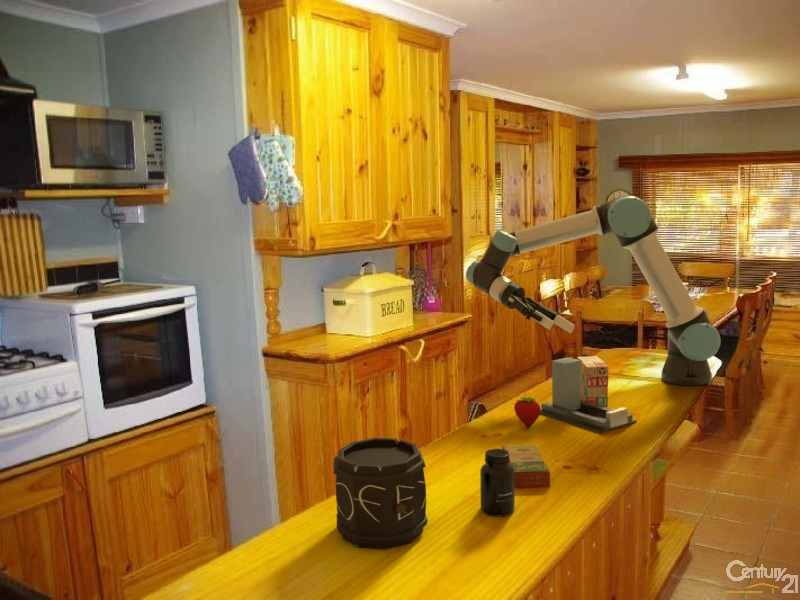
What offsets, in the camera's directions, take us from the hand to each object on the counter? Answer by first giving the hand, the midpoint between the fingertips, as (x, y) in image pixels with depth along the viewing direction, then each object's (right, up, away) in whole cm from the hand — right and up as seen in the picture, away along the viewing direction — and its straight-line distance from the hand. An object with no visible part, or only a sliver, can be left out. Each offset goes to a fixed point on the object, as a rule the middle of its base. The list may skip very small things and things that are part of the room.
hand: (562, 327), depth 207 cm
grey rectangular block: (0, -24, -3) cm, 24 cm away
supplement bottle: (-27, -34, -63) cm, 77 cm away
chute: (+4, -25, -9) cm, 26 cm away
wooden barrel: (-50, -36, -70) cm, 93 cm away
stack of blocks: (+10, -22, +11) cm, 26 cm away
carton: (-19, -32, -46) cm, 59 cm away
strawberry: (-13, -26, -15) cm, 33 cm away
